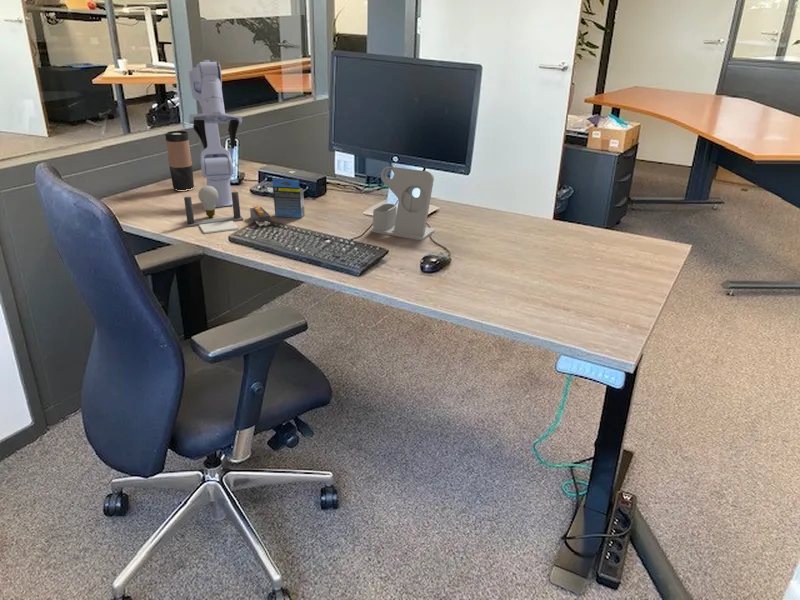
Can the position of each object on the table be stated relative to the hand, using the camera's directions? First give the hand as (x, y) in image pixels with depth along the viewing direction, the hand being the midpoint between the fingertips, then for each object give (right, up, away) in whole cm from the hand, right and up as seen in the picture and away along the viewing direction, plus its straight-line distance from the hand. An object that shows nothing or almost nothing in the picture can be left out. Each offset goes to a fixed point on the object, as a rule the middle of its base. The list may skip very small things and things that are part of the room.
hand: (219, 147), depth 178 cm
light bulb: (-8, -18, +18) cm, 27 cm away
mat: (-3, -22, +9) cm, 24 cm away
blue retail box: (+16, -17, +21) cm, 32 cm away
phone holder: (+52, -23, +9) cm, 58 cm away
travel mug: (-27, -4, +48) cm, 55 cm away
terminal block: (+8, -19, +15) cm, 26 cm away
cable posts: (-6, -20, +14) cm, 25 cm away
